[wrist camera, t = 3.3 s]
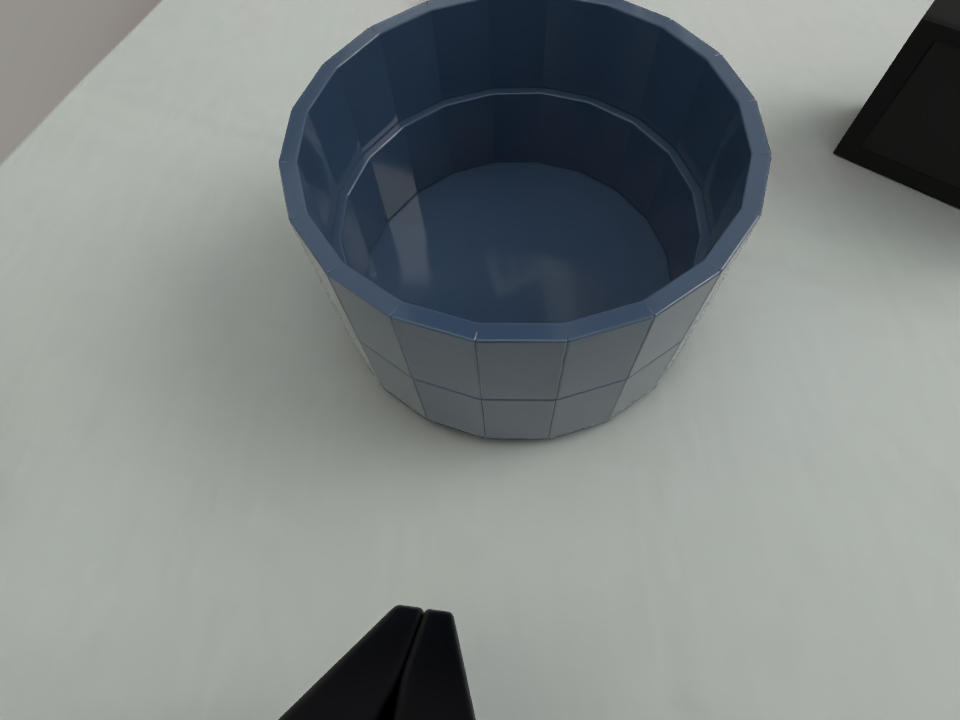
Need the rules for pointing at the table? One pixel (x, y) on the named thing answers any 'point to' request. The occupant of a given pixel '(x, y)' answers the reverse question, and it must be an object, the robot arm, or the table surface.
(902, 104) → the digital camera
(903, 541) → the table surface
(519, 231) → the bowl
